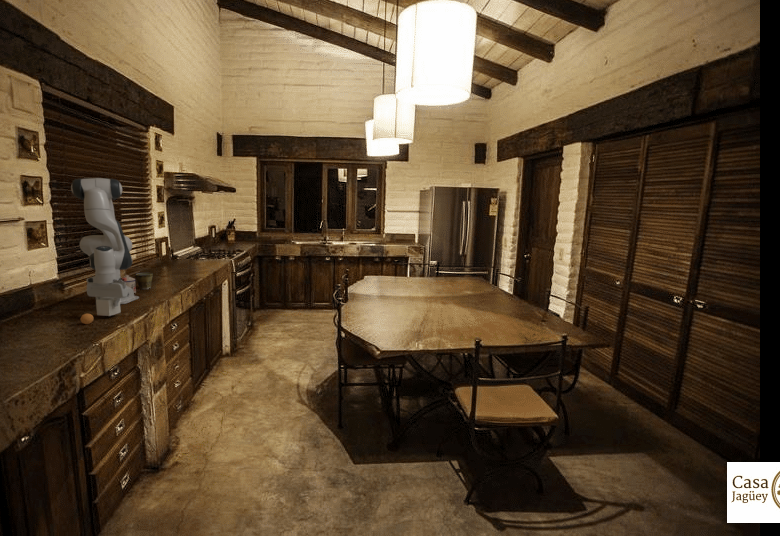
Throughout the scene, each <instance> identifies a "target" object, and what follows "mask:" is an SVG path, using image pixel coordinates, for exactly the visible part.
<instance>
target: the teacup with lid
mask: <svg viewBox="0 0 780 536" xmlns="http://www.w3.org/2000/svg"><path fill="white" fill-rule="evenodd" d="M123 278H127V281H124V282H125V283H126V285H127V286H128V287H130V288H132V289H133V291H134V293H135V294H136V293H137V289H136V278H134V277H131V276H130V275H127V274H126V275H124V277H123Z"/></svg>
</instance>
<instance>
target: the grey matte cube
mask: <svg viewBox="0 0 780 536" xmlns="http://www.w3.org/2000/svg"><path fill="white" fill-rule="evenodd" d="M113 303H115V299H114V298H107V297H105V298H101V299H97V300H96V299H95V306H96V315H97V316H104V317H105V316H106V317H107V316H108V317H111V316H114V315H117V314H121V304H120V301H119V303H118V306H117V307H115V306H113Z"/></svg>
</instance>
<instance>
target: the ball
mask: <svg viewBox="0 0 780 536" xmlns="http://www.w3.org/2000/svg"><path fill="white" fill-rule="evenodd" d="M80 322H81V323H82V324H85V325H90V324H91V323H93V322H94V316H93V315H92V314H91V313H84V314H82V315H81V317H80Z"/></svg>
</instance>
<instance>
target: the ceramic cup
mask: <svg viewBox="0 0 780 536" xmlns="http://www.w3.org/2000/svg"><path fill="white" fill-rule="evenodd" d="M153 275H154V274H153V272H139V273H136V274H135V280H136V282H137V285H138V289H139V290H150V289H151V288H152V281H153V277H154V276H153ZM149 288H150V289H149Z"/></svg>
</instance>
